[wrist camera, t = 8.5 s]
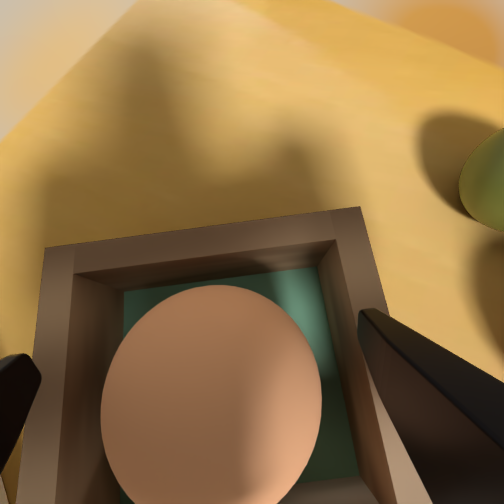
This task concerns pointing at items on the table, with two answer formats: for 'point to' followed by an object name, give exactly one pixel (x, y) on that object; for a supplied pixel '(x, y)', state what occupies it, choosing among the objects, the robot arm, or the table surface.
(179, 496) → the ball
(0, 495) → the white square holder
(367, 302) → the wooden crate
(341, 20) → the table surface
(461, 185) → the pear
